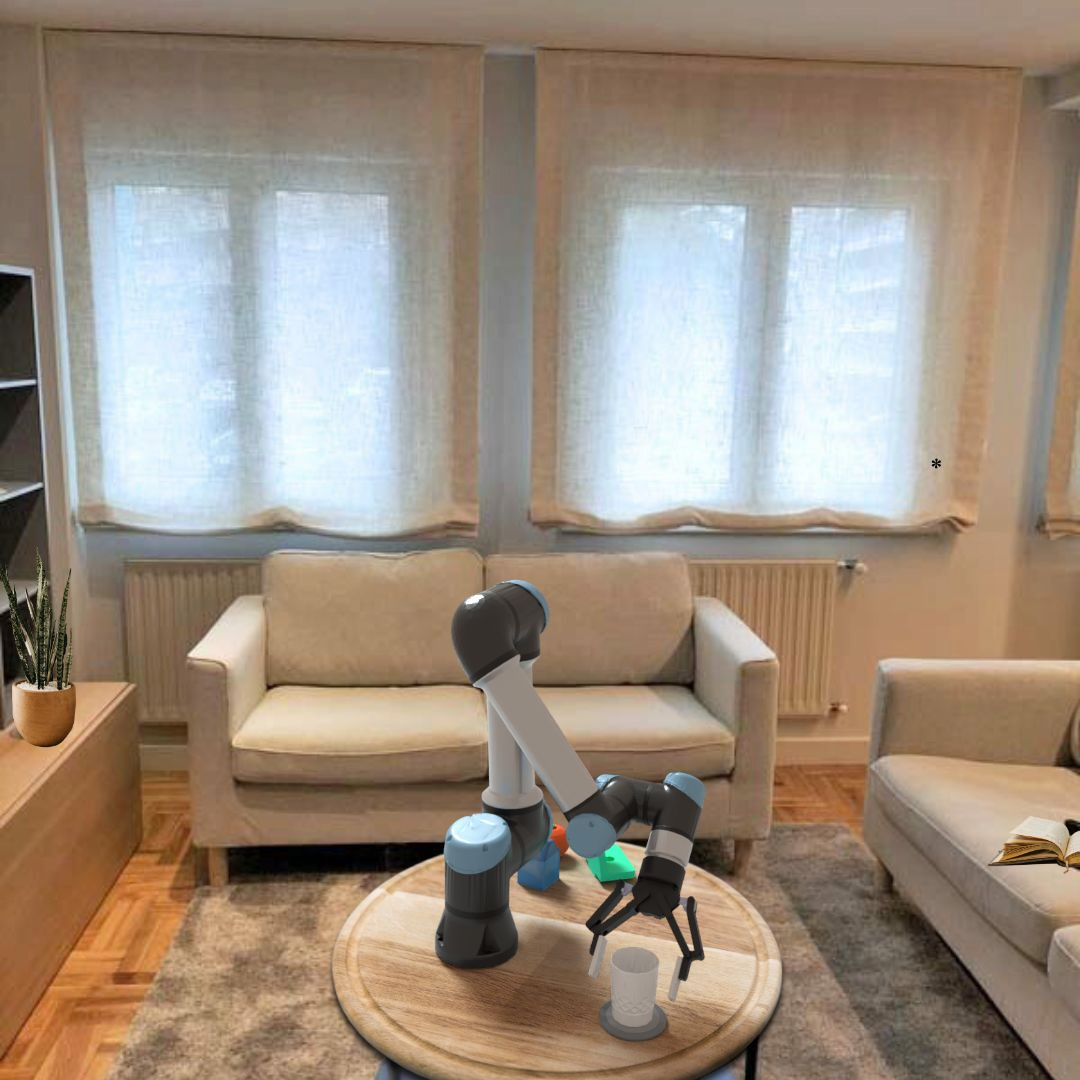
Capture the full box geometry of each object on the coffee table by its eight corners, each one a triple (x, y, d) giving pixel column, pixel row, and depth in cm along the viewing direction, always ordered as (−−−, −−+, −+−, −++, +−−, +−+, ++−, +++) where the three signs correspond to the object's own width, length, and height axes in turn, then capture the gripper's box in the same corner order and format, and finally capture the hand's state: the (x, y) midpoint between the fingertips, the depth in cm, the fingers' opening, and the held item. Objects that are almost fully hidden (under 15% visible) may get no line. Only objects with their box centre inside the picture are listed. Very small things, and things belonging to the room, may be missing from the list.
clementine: (526, 854, 242) (526, 823, 240) (547, 844, 247) (548, 813, 245) (554, 867, 236) (555, 835, 235) (576, 856, 241) (576, 825, 240)
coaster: (589, 1029, 184) (589, 1025, 184) (613, 993, 193) (613, 989, 193) (653, 1048, 179) (653, 1044, 179) (675, 1010, 189) (675, 1006, 189)
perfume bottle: (559, 878, 232) (560, 824, 229) (543, 891, 227) (544, 835, 224) (533, 870, 235) (534, 816, 233) (517, 882, 230) (518, 827, 227)
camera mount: (636, 882, 231) (637, 835, 229) (600, 886, 229) (601, 839, 227) (617, 855, 243) (618, 810, 240) (583, 859, 241) (584, 813, 239)
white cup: (626, 995, 192) (628, 941, 190) (665, 1013, 187) (668, 958, 185) (598, 1016, 186) (600, 961, 184) (638, 1036, 181) (641, 980, 179)
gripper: (739, 886, 192) (709, 1015, 181) (602, 854, 202) (566, 974, 192) (733, 871, 186) (701, 1003, 176) (591, 839, 196) (554, 962, 186)
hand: (631, 988), depth 184 cm, fingers open, 13 cm apart
